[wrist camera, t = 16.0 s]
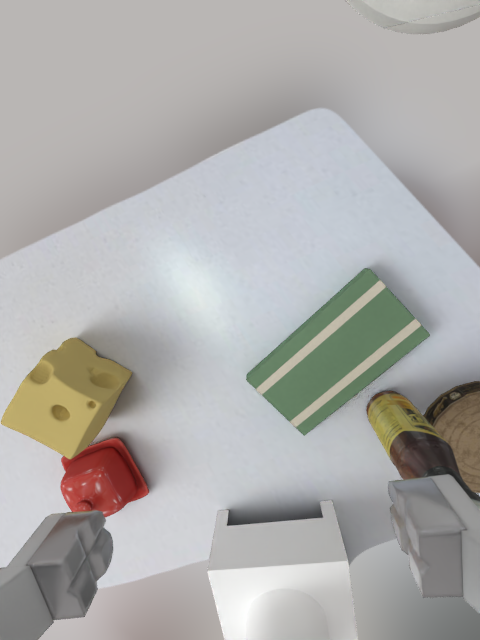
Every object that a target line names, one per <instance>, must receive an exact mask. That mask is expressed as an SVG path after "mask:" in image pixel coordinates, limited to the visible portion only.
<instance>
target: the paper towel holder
mask: <svg viewBox="0 0 480 640" xmlns="http://www.w3.org/2000/svg"><path fill="white" fill-rule="evenodd" d="M320 505H321V510H322V515H323V518H314V519H302V520H291V521H279V522H267V523H256V524H244V525H233V526H227V521H228V513H229V510H220V511H217V516H216V522H215V528H214V534H213V540H212V546H211V552H210V558H209V564H208V570H207V572H208V576H209V580H210V584H211V588H212V591H213V596H214V599H215V603H216V607H217V611H218V615H219V619H220V623H221V627H222V631H223V635H224V639H225V640H358V635H357V627H356V620H355V611H354V603H353V595H352V587H351V580H350V572H349V564H348V558H347V555H346V551H345V547H344V543H343V540H342V536H341V532H340V528H339V525H338V521H337V517H336V513H335V510H334V506H333V502H332V500H329V501H320Z"/></svg>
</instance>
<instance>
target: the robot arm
mask: <svg viewBox="0 0 480 640" xmlns="http://www.w3.org/2000/svg"><path fill="white" fill-rule="evenodd" d="M388 491H389V496H390V498H391V500H392V502H393V505H392V506H391V507H390V512H391V519H392V523H393V528H394V531H395V534H396V537H397V540H398V542H399V545H400V547H401V549H402V551H404V552H405V553H406V554H407V555H409V565H410V570H411V572H412V574H413V576H414V579H415V581H416V583H417V585H418V588H419V590H420V592H421V594H422V596H423V598H426V597H427V598H428V597H463V599H464V600H465V601H466V602H467V603H468V604H470V605H471V606H472V607H473V608H474V609H475V610H476V611H477V612H478V613H480V510H479V509H478V507H477V506H476V505H475V504H474V502H473V501H472V500H471V499H470V497H469V496H468V495H467V494H466V492H465V491H464V490H463V489H462V487H461V486H460V485H459V484H458V482H457V481H456V480H455V479H454V478H453V477H452V476H451V475H449V474H447V475H438V476H430V477H423V478H414V479H405V480H395V481H389V483H388ZM105 522H106V520H105V517H104V515H103V512H102V511H98V510H94V511H80V512H67V513H58V514H51V515H49V516H48V517H46V518H45V519H44V521H43V522H42V523H41V524H40V526H39V527H38V528H37V529H36V531H35V532H34V533H33V534H32V536H31V537H30V538H29V539H28V541H27V542H26V543H25V544H24V546H23V547H22V548H21V550H20V551H19V552H18V553H17V555H16V556H15V557H14V558H13V560H12V561H11V562H10V563H9V565H8V566H7V567H4V568H0V640H38V639H39V638H40V637H41V636H42V635H43V633H44V632H45V631H46V630H47V629H48V628H49V627H50V626H51V625H52V624H53V620H60V619H70V618H79V617H85V615H86V613H87V611H88V609H89V607H90V605H91V602H92V600H93V598H94V596H95V594H96V592H97V590H98V588H97V580H98V579H99V578H100V577H101V576H103V575H104V574H105V573H106V571H107V569H108V567H109V564H110V562H111V558H112V553H113V540H112V537H111V534H110V533H109V532H108V531H107V530H106V529H105V528H103V527H104V524H105Z"/></svg>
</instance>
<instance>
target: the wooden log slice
mask: <svg viewBox="0 0 480 640" xmlns="http://www.w3.org/2000/svg"><path fill="white" fill-rule="evenodd" d="M424 417H425V418H426V419H427V421H428V422H429V423H430V424H431V425H432V426H433V427H434V428H435V429H436V431H437V432H438V433H439V434H440V435H441V436H442V437H443V438H444V439H445V441H446V442H447V443H448V444H449V445H450V446H451V448H452V450H453V453H454V456H455V459H456V462H457V465H458V469H459V472H460V475H461V477H462V479H463V481H464V482H465V483H466V485H467V486H468V487H469V488H470V489H471V491H473V492H475V493H480V381H474V382H471V383H467V384H463V385H459V386H456V387H454V388H452V389H451V390H449V391H447V392H445V393H444V394H442V395H440V396H439V397H438V398H437V399H436V400H435V401H434V402H433V403H432V404H431V405H430V406H429V407H428V409H427V411H426V413H425V415H424Z"/></svg>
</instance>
